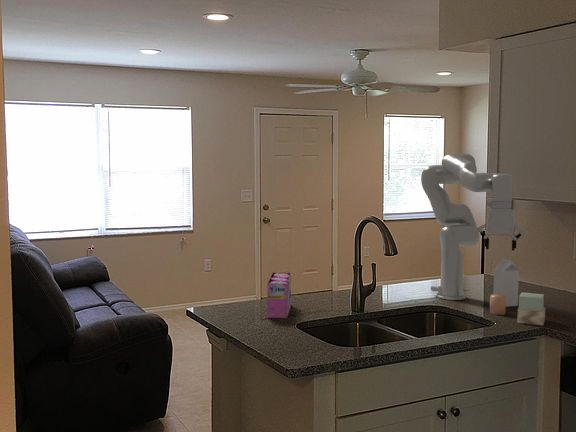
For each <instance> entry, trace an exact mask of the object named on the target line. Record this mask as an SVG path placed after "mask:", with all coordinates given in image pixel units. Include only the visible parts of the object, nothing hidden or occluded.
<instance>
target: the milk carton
mask: <svg viewBox="0 0 576 432" xmlns="http://www.w3.org/2000/svg"><path fill="white" fill-rule="evenodd" d="M500 260H501V261H500V262H499V263H497V265H496V266H494V267H493V290H492V291H493V293H492V294H502V295H506V308H507V307H517V306H518V307H519V281H520V280H519V275H520V270H519V269H518V268H517V267H516V266H515V264H514V263H513V261H512V260H510V259H506V258H501V259H500Z"/></svg>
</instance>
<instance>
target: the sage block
mask: <svg viewBox="0 0 576 432" xmlns="http://www.w3.org/2000/svg"><path fill="white" fill-rule="evenodd" d="M544 298H545V294H544V293H542V294H541V293H531V292H521V293H520V295H518V309H519V310H527V311H537V312H542V310H543V307H544V303H545V302H544V300H545V299H544Z"/></svg>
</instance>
